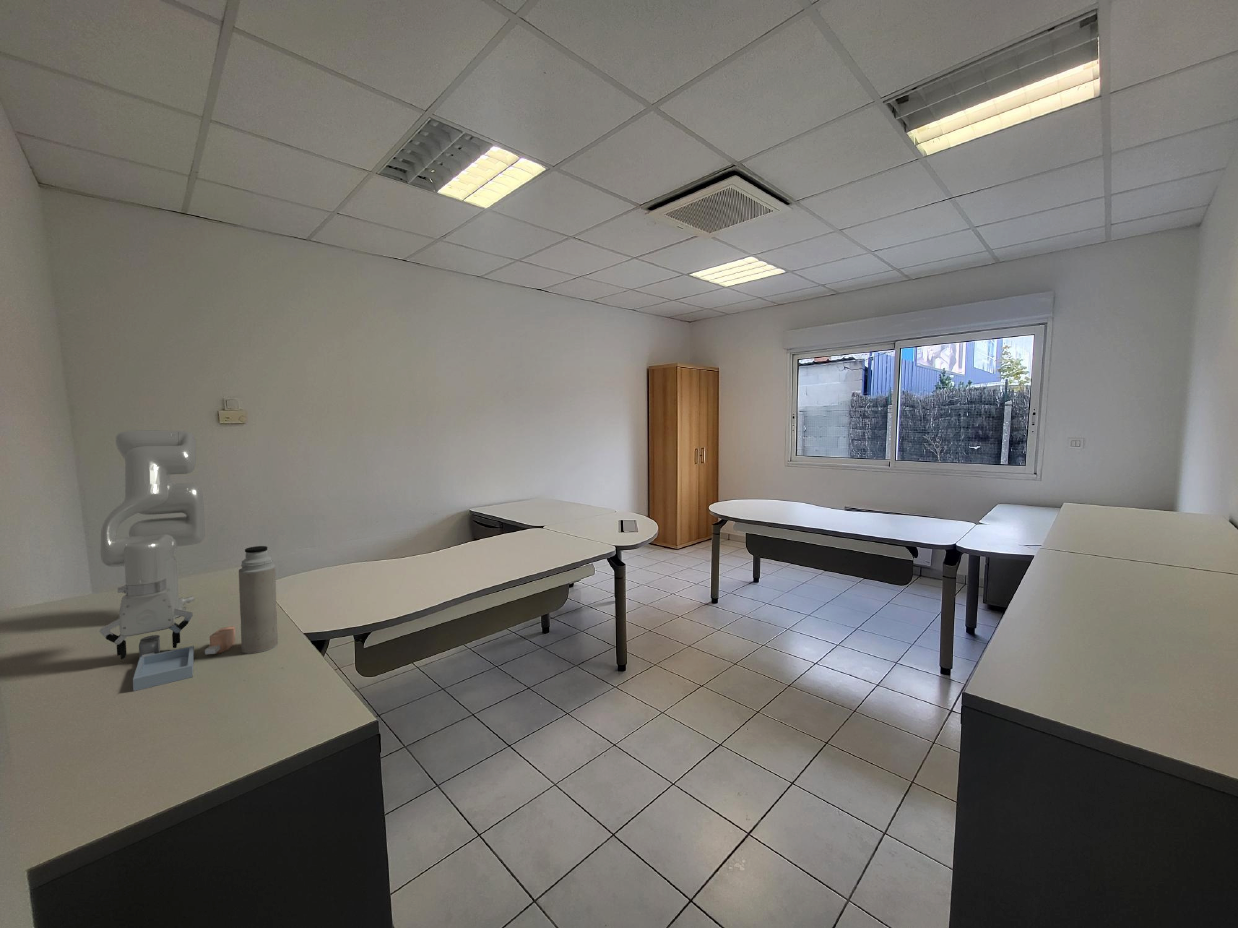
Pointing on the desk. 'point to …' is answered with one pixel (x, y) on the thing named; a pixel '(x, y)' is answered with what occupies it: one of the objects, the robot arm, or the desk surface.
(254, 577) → the thermos bottle
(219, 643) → the terracotta plug
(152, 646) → the graphite plug
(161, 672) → the tray
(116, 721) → the desk surface
